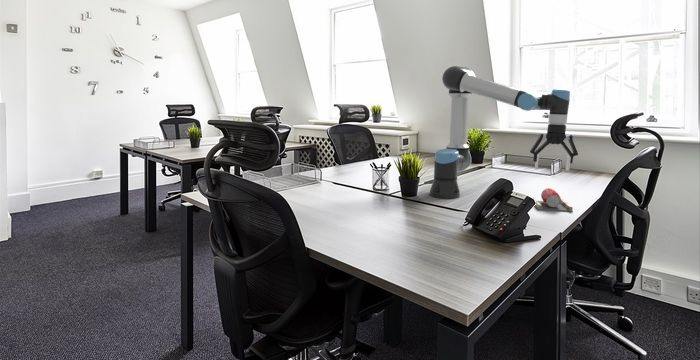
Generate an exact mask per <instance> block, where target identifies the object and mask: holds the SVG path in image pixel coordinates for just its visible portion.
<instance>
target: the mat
mask: <svg viewBox="0 0 700 360" xmlns="http://www.w3.org/2000/svg"><path fill="white" fill-rule="evenodd" d="M537 201H538V202H539V203H540V204H541V205H542V209H538V207H537V206H536V205H535V206H534V208H536V210H538V211H546V212H547V211H548V212H550V211H552V212H567V213H573V210H572V211H569V210H568V209H567V208H566V207H565V206H563V205H562V204H561V203H560V204H559V205H558V206H557V207H549V206H547V205H546V204H545V203H544V201H543V200H537Z"/></svg>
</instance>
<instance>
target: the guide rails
mask: <svg viewBox="0 0 700 360" xmlns="http://www.w3.org/2000/svg"><path fill="white" fill-rule="evenodd" d="M532 198H533V199H534V200H535V201H536V206H537V207H538V209H542V205H541V204H540V203H539V202H538V201H539V200H537V199H536V198H535V197H532ZM560 203H561V204H562V205H563V206H565V207H566V208H567V209H568V210H569V211H573V206H572V205H570V203H568V202H567V201H566V200H564V199H563V198H561V202H560ZM538 209H537V210H538Z"/></svg>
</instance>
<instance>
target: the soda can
mask: <svg viewBox="0 0 700 360" xmlns="http://www.w3.org/2000/svg"><path fill="white" fill-rule="evenodd" d="M561 199H562V197H561V196H560V194H559V193H558V192H557V191H556V190H555V189H553V188H549V187H548V188H544V190H543V191H541V201H544V203H545V204H546V205H547V206H549V207H557V206H558V205H559V204H560V202H561Z"/></svg>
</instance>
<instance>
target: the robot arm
mask: <svg viewBox="0 0 700 360" xmlns="http://www.w3.org/2000/svg"><path fill="white" fill-rule="evenodd" d="M441 77H442V80H441V81H442V84H443V86H444V87H445V88H446V89H448V95H449V96H450V97H451V102H450V103H451V104H450V107H451V108H450V122H449V123H450V127H449V128H450V129H449V142H448V144H447V145H446V147H445V148H441V149H437V151H435V154H434V169H433V170H434V171H433V181H432V184H431V187H430V190H429V196H431V197H434V198H438V199H457V198H459V197H460V196H461V195H460V194H461V191H460V187H459V183H458V173H459V172H460V173H461V172H463V171H465V170H466V169H468V168H469V167H470V165H471V163H472V156H471V153H470V152H469V151H470V147H469V145H468V144H467V134H468V115H469V99H470V96H471V95H472V94H474V95H477V96H478V95H479V96H481V97H484V98H487V99H491V100H493V101H496V102H497V101H498V102H499V103H500V102H501V103H503V104H507V105H510V106H513V107H516V108H519V109H521V110H523V111H525V112H528V111H530V112H531V111H549V113H548V114H549V115H548V124H547V130H546V131H547V132H546V134H544V133H539V135H538V138H537V140H536V141H535V142H534V145H533V146H532V147H531V149H530V151H529V153H531V154H533V160H532V161H533V162H535V164H534V169H535V170H538V169H539V161H540V155H539V154H540V153H541V152H542V151H543V150H544V149H545V148H546V147H547V146H549V145H550V144H551V145H561V146H562V148H563V149H564V151H566V153H567V154H568V155H567V156H566V164H565V170H566V171H567V172H570V167H571V164H573V161H574V157H576V156H579V153H578V150H577V147H576V145H575V143H574V140H573V137H574V136H573V135H572V134H567V135H566V131H567V122H568V121H567V120H568V113H569V106H570V100H571V99H570V97H571V91H570V90H569V89H567V88H566V89H564V88H559V89H555V88H554V89H552V90H551V93H539V92H538V93H537V92H529V91H526V90H522V89H518V88H516V87H512V86H509V85H505V84H501V83H498V82H494V81H491V80H488V79H486V78H485V79H484V78H481V77H478V76H476V75H475V72H474V71H473V70H472V69H470V68H469V67H466V66H457V65H454V66H450V67H448V68H446V70H445V71H444V72H443V74H442V76H441ZM544 138H546V140H545V142H543V143H542V144H541V142H542V141H543V140H544ZM565 140H568V144H569V147H570V148H569V147H568V146H567V144H566V143H565V142H564V141H565ZM540 144H541V145H540ZM539 145H540V146H539Z"/></svg>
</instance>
